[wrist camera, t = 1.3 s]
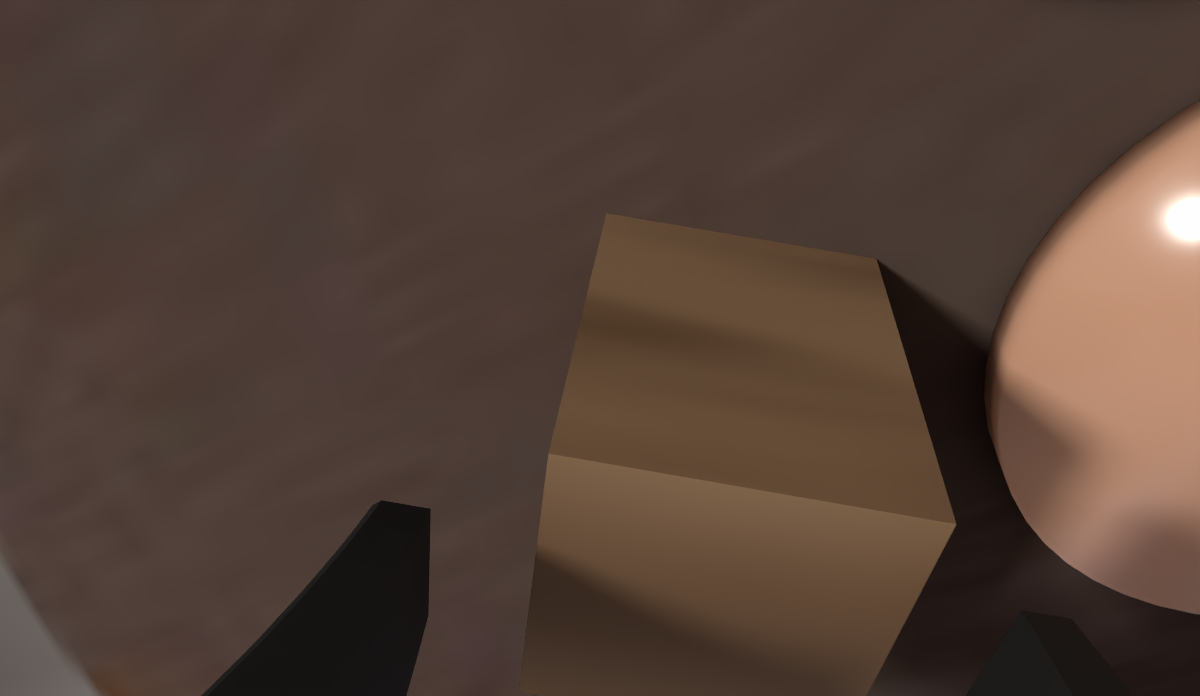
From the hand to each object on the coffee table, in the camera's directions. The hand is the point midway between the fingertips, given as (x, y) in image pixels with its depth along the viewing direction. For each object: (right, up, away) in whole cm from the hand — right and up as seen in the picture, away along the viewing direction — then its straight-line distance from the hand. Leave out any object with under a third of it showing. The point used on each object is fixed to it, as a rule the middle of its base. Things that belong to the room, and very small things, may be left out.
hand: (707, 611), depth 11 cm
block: (+1, +3, +5) cm, 6 cm away
